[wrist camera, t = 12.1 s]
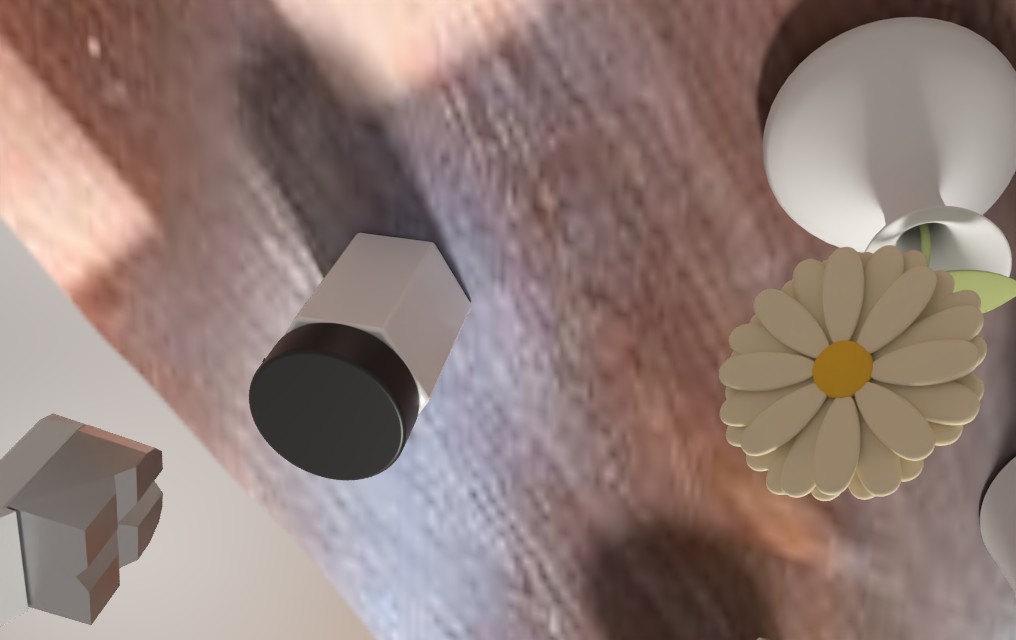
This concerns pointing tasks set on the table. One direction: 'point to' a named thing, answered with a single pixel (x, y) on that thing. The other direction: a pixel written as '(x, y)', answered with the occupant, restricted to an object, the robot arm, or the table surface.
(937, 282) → the flower in vase
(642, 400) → the table surface
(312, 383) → the jar
